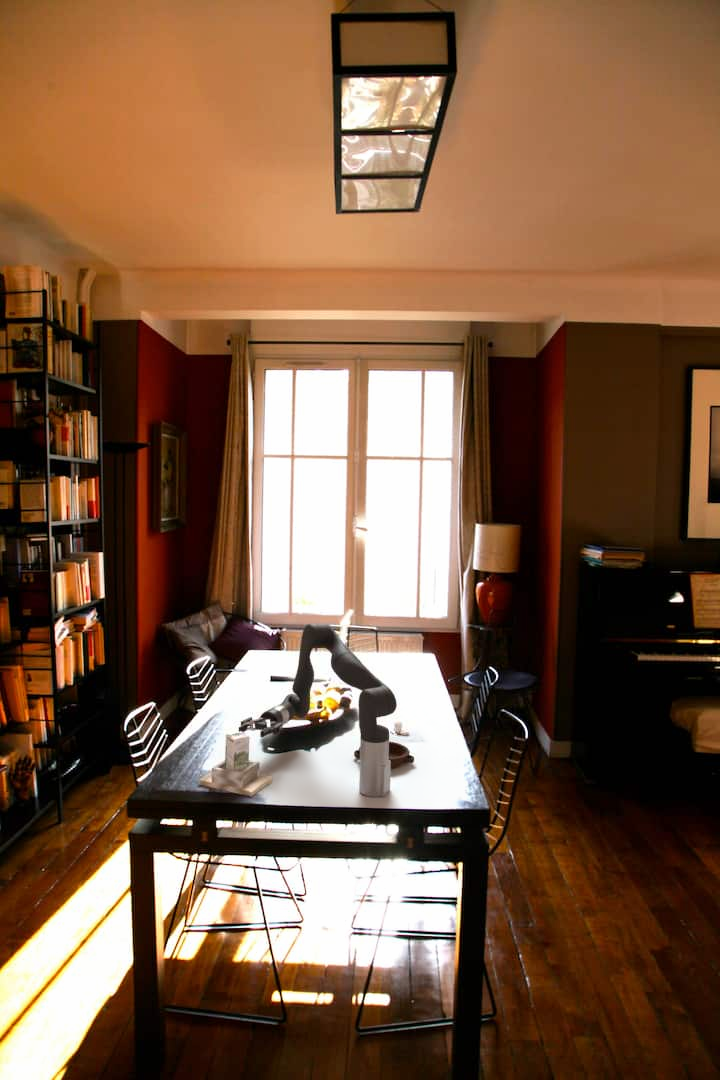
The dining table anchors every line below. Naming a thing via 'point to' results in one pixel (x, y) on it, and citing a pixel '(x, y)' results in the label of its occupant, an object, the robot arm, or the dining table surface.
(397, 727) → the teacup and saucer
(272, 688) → the dining table surface
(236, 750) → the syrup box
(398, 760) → the dish
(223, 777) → the collar board
